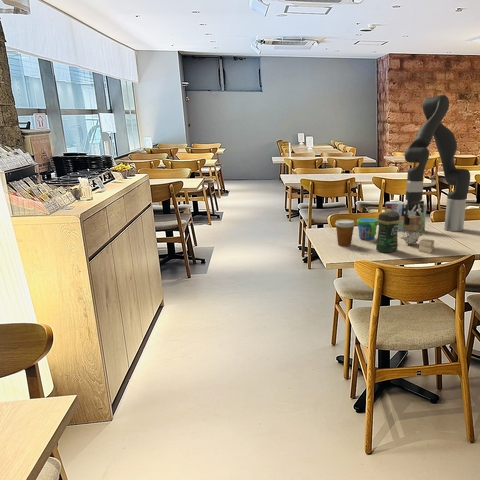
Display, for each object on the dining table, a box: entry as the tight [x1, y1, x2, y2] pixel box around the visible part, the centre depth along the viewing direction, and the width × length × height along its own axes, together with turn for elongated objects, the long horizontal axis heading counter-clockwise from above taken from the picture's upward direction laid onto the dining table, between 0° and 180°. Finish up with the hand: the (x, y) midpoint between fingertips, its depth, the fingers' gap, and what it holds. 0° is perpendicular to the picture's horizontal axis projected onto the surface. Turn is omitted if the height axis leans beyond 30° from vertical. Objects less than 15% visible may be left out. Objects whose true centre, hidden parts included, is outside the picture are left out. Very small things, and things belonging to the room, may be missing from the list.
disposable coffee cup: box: [334, 218, 356, 247], centre depth 215 cm, size 10×10×12 cm
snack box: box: [383, 201, 428, 233], centre depth 240 cm, size 21×6×15 cm, turn 58°
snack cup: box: [356, 217, 379, 241], centre depth 225 cm, size 16×10×10 cm
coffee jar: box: [375, 211, 399, 254], centre depth 202 cm, size 10×8×19 cm
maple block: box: [418, 238, 435, 254], centre depth 201 cm, size 5×5×5 cm
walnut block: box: [403, 215, 422, 231], centre depth 210 cm, size 6×6×6 cm
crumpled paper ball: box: [400, 229, 422, 246], centre depth 212 cm, size 9×8×10 cm
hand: (412, 223), depth 210 cm, fingers open, 8 cm apart
